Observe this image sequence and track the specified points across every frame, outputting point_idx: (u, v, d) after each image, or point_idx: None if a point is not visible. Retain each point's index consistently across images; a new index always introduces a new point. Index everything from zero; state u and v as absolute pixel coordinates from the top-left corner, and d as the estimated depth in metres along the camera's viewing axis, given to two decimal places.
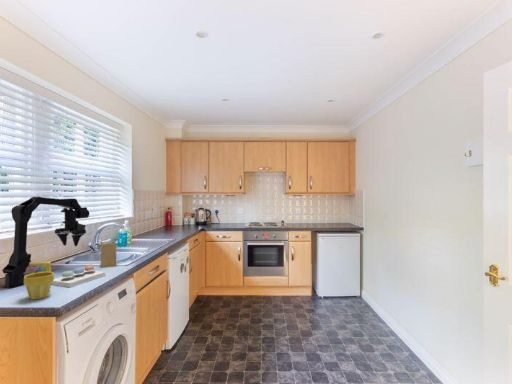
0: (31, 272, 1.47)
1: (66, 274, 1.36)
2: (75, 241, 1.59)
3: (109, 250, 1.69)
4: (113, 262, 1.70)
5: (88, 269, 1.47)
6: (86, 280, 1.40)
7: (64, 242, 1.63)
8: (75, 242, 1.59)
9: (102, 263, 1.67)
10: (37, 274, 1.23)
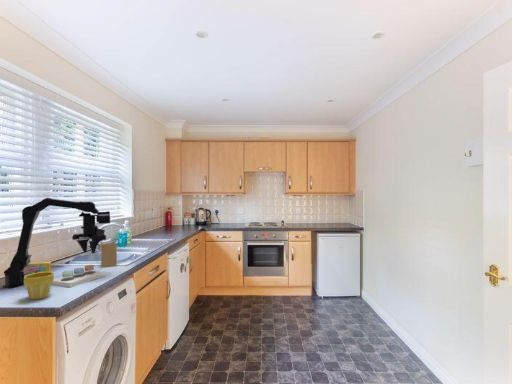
0: (31, 272, 1.47)
1: (66, 274, 1.36)
2: (92, 248, 1.47)
3: (109, 250, 1.69)
4: (114, 262, 1.70)
5: (88, 269, 1.47)
6: (86, 280, 1.40)
7: (84, 249, 1.50)
8: (92, 249, 1.47)
9: (102, 263, 1.67)
10: (37, 274, 1.23)
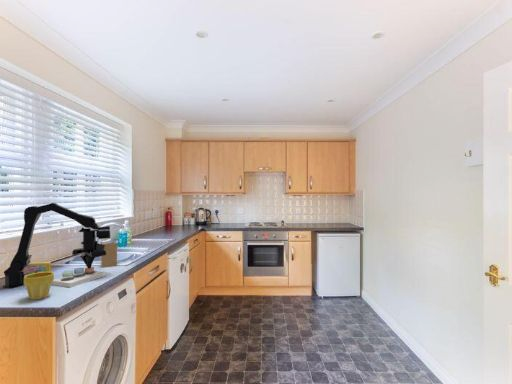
0: (31, 272, 1.47)
1: (66, 274, 1.36)
2: (89, 263, 1.48)
3: (110, 250, 1.70)
4: (114, 262, 1.71)
5: (88, 271, 1.47)
6: (86, 280, 1.40)
7: None
8: (89, 264, 1.48)
9: (103, 263, 1.68)
10: (37, 274, 1.23)
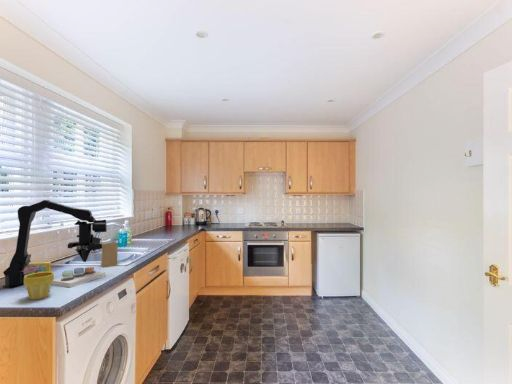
0: (31, 272, 1.47)
1: (66, 274, 1.36)
2: (84, 256, 1.46)
3: (110, 250, 1.70)
4: (114, 262, 1.71)
5: (88, 271, 1.47)
6: (86, 280, 1.40)
7: None
8: (84, 257, 1.46)
9: (103, 262, 1.68)
10: (37, 274, 1.23)
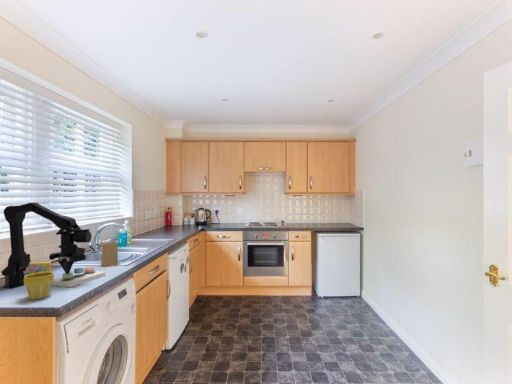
0: (31, 272, 1.47)
1: (66, 276, 1.36)
2: (67, 268, 1.37)
3: (111, 250, 1.71)
4: (115, 261, 1.72)
5: (88, 271, 1.47)
6: (86, 280, 1.40)
7: None
8: (67, 269, 1.37)
9: (104, 262, 1.69)
10: (37, 274, 1.23)
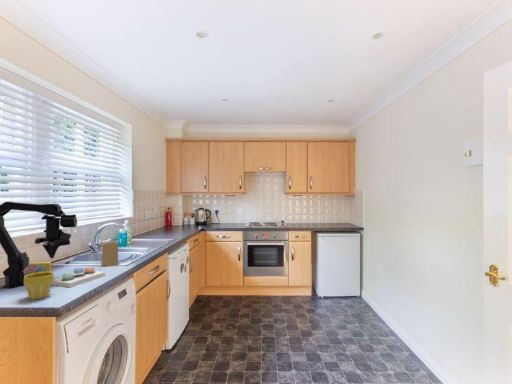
0: (31, 272, 1.47)
1: (66, 276, 1.36)
2: (51, 252, 1.39)
3: (111, 250, 1.71)
4: (115, 261, 1.73)
5: (88, 271, 1.47)
6: (86, 280, 1.40)
7: None
8: (51, 254, 1.39)
9: (104, 262, 1.69)
10: (37, 274, 1.23)
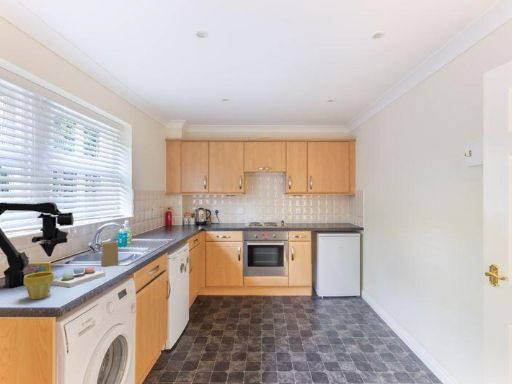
0: (31, 272, 1.47)
1: (66, 276, 1.36)
2: (48, 251, 1.40)
3: (111, 249, 1.72)
4: (115, 261, 1.73)
5: (88, 271, 1.47)
6: (86, 280, 1.40)
7: None
8: (49, 252, 1.40)
9: (104, 262, 1.69)
10: (37, 274, 1.23)
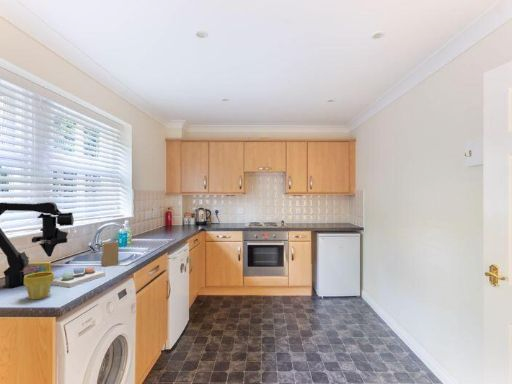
0: (31, 272, 1.47)
1: (66, 276, 1.36)
2: (48, 251, 1.40)
3: (112, 249, 1.72)
4: (116, 261, 1.73)
5: (88, 271, 1.47)
6: (86, 280, 1.40)
7: None
8: (49, 252, 1.40)
9: (105, 262, 1.70)
10: (37, 274, 1.23)
